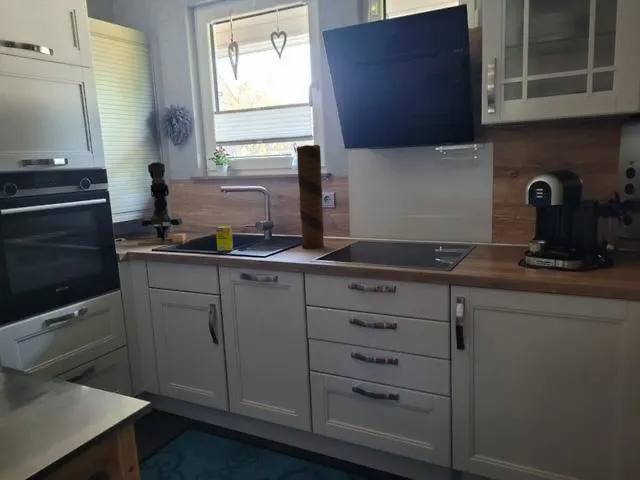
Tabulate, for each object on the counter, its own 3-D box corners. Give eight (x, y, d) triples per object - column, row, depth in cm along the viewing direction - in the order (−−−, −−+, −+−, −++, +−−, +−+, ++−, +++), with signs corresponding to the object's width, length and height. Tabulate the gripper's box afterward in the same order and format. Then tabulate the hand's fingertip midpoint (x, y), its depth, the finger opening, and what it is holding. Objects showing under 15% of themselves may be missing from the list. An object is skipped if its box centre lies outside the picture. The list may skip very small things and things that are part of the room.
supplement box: (230, 252, 228) (229, 227, 226) (217, 252, 228) (215, 227, 226) (233, 249, 234) (231, 225, 232) (220, 250, 234) (218, 226, 232)
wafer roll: (312, 249, 225) (308, 144, 218) (296, 247, 233) (292, 145, 226) (329, 246, 232) (326, 144, 225) (314, 244, 240) (310, 145, 233)
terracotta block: (176, 241, 258) (175, 233, 258) (186, 241, 258) (185, 233, 257) (172, 243, 253) (172, 235, 253) (182, 243, 253) (182, 235, 252)
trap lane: (147, 243, 263) (147, 239, 262) (190, 242, 261) (189, 238, 261) (137, 247, 251) (137, 243, 250) (182, 246, 249) (182, 241, 249)
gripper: (135, 210, 246) (138, 242, 248) (173, 209, 245) (176, 241, 247) (144, 208, 257) (147, 239, 259) (181, 206, 256) (183, 238, 258)
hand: (163, 239), depth 256 cm, fingers closed
